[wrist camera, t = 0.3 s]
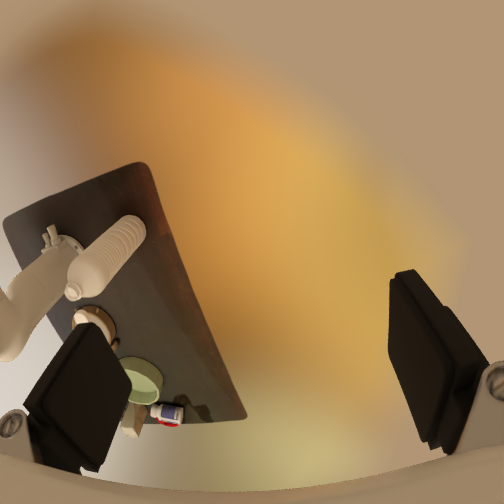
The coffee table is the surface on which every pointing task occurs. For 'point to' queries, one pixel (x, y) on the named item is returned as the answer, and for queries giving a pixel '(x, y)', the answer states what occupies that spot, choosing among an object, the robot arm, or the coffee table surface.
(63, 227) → the coffee table surface
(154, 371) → the holder
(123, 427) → the box
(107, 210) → the coffee table surface
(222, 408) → the coffee table surface
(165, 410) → the pill bottle
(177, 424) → the ornament
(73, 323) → the alarm clock
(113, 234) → the plastic bottle and lid
